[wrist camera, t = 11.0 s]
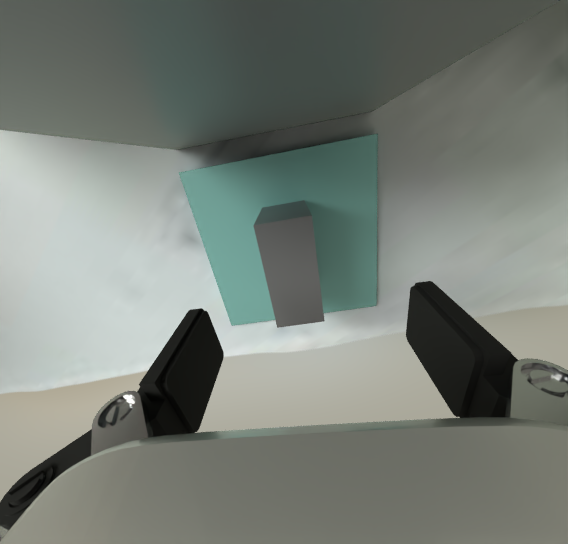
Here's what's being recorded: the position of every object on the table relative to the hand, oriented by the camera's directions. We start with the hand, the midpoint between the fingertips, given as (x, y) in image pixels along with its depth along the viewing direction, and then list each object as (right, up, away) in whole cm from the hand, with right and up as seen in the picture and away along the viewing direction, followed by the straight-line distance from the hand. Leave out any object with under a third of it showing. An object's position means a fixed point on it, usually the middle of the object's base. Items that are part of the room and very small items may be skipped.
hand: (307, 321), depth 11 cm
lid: (0, +5, +11) cm, 12 cm away
